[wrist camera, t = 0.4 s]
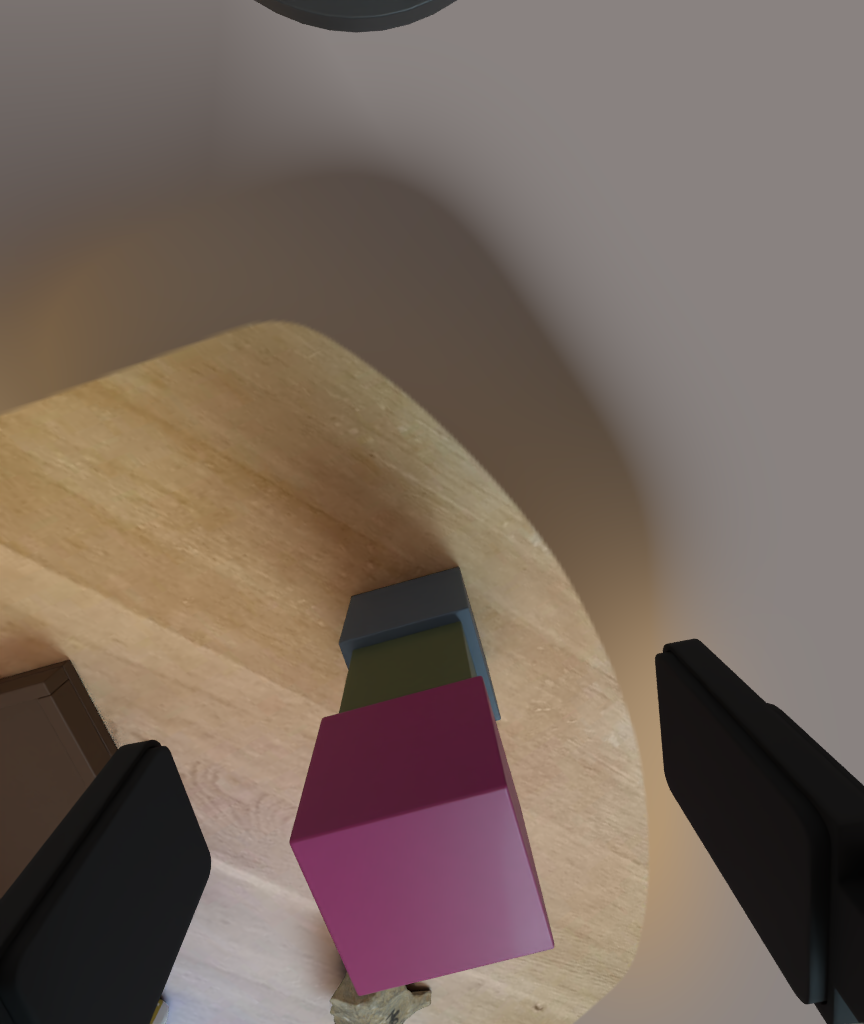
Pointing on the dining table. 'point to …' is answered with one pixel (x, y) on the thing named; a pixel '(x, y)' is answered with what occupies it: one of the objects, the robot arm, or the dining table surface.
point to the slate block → (415, 617)
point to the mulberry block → (418, 840)
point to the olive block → (407, 666)
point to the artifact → (376, 1004)
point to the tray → (44, 759)
